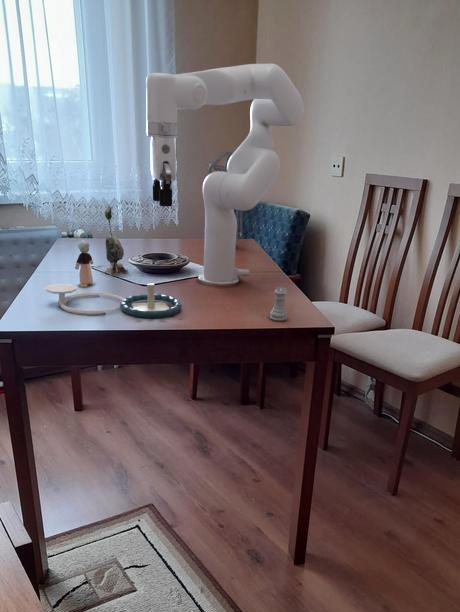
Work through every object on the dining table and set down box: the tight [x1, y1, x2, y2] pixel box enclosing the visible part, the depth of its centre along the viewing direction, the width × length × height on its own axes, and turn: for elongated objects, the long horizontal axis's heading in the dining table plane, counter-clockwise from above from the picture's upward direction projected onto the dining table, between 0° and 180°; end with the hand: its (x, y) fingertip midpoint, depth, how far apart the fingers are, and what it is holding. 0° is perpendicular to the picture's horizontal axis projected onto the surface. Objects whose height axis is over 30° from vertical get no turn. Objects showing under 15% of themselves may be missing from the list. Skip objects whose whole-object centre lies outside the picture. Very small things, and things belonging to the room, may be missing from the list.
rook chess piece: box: [269, 286, 288, 322], centre depth 140 cm, size 4×4×8 cm
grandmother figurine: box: [74, 239, 94, 288], centre depth 158 cm, size 8×4×13 cm, turn 168°
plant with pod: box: [104, 205, 130, 276], centre depth 170 cm, size 8×11×20 cm
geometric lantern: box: [206, 150, 243, 243], centre depth 215 cm, size 16×16×35 cm
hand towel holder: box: [44, 282, 125, 316], centre depth 143 cm, size 17×4×21 cm
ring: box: [119, 293, 182, 319], centre depth 140 cm, size 15×15×2 cm
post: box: [130, 282, 170, 311], centre depth 140 cm, size 9×9×7 cm
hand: (162, 203), depth 146 cm, fingers open, 9 cm apart
